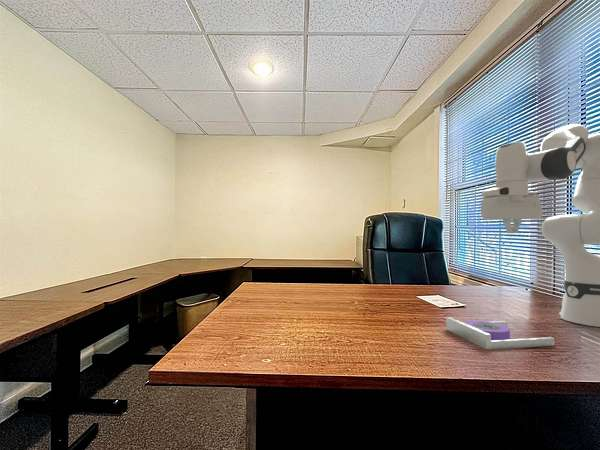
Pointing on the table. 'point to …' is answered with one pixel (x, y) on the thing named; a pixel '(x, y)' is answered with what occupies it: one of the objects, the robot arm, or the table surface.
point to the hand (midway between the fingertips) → (512, 233)
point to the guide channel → (485, 338)
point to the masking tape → (492, 329)
